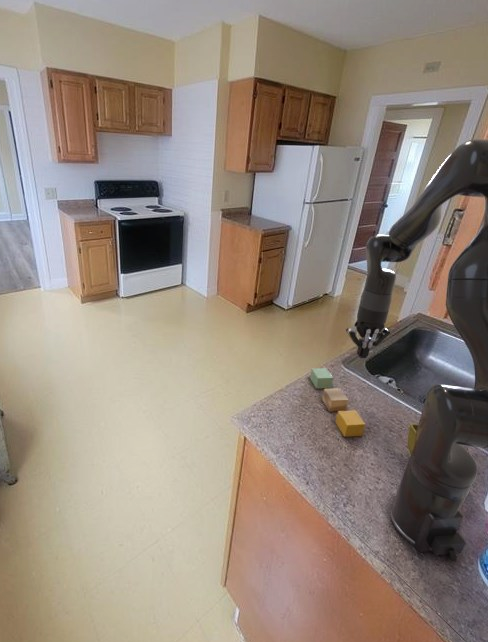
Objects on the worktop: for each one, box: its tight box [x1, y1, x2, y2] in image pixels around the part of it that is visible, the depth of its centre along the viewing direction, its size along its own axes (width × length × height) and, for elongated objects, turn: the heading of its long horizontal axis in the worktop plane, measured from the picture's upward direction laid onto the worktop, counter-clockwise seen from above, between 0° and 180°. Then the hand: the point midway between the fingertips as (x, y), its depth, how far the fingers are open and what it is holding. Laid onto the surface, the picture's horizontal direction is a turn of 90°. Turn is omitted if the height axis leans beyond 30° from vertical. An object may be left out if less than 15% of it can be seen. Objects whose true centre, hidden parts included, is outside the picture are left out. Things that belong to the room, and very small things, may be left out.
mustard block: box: [335, 409, 366, 438], centre depth 86 cm, size 5×5×4 cm
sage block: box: [309, 367, 334, 389], centre depth 103 cm, size 5×5×4 cm
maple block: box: [321, 387, 349, 412], centre depth 94 cm, size 5×5×4 cm
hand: (361, 356), depth 97 cm, fingers closed
